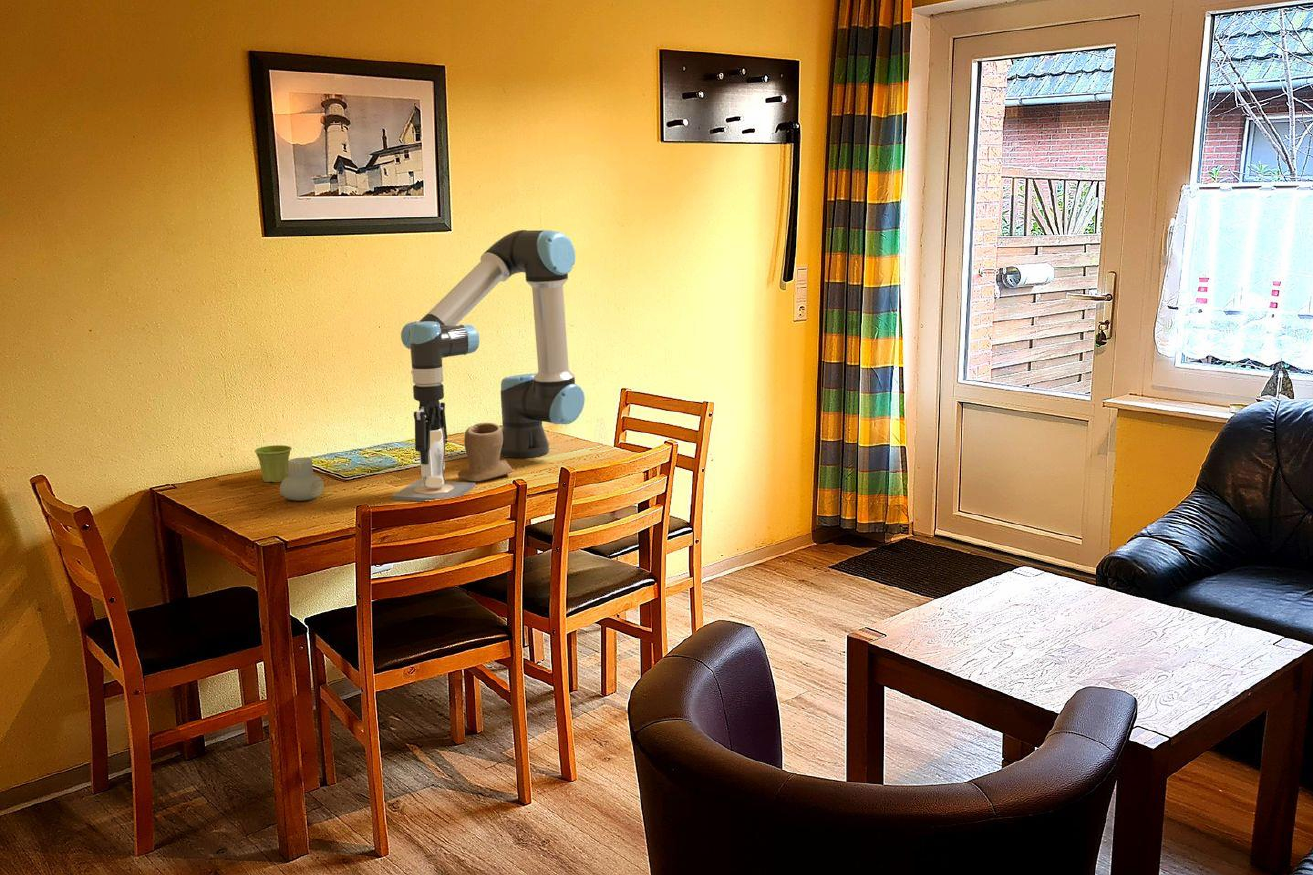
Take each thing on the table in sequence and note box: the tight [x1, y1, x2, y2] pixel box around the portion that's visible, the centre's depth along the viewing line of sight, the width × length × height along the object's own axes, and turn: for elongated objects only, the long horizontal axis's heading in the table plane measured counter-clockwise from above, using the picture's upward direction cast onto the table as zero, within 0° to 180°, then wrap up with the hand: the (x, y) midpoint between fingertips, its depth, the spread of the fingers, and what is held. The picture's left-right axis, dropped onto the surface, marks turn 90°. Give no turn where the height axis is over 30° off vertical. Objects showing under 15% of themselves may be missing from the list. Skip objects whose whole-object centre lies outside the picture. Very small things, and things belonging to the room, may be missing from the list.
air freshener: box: [279, 457, 325, 502], centre depth 285 cm, size 11×8×10 cm
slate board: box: [390, 479, 476, 502], centre depth 289 cm, size 16×16×1 cm
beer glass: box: [417, 426, 447, 488], centre depth 287 cm, size 7×7×15 cm
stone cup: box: [457, 422, 514, 482], centre depth 302 cm, size 15×12×15 cm
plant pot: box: [254, 444, 293, 483], centre depth 303 cm, size 9×9×9 cm
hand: (433, 472), depth 288 cm, fingers open, 7 cm apart
